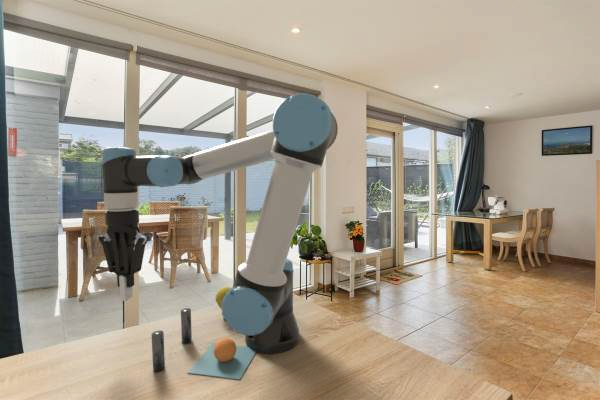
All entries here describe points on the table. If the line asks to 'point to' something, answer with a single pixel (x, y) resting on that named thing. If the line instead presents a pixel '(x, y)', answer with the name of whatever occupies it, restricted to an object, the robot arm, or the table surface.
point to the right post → (186, 326)
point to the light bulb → (221, 296)
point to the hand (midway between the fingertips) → (126, 298)
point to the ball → (224, 349)
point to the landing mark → (223, 364)
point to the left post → (158, 351)
